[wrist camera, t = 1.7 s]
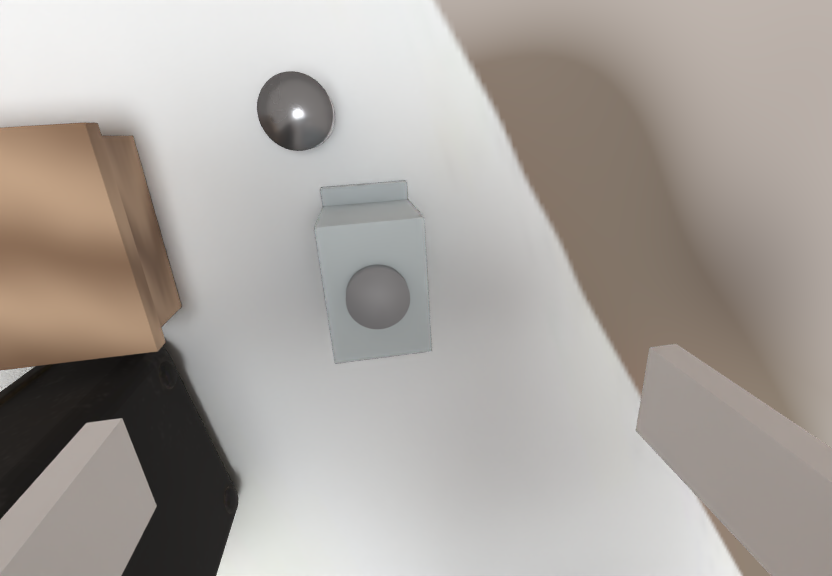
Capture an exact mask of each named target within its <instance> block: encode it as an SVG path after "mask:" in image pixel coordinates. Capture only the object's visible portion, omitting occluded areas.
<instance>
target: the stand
mask: <svg viewBox="0 0 832 576" xmlns="http://www.w3.org/2000/svg"><path fill="white" fill-rule="evenodd" d="M181 307H182V306H181V302H180V299H179V295H178V292H177V288H176V285H175V281H174V278H173V274H172V271H171V267H170V264H169V260H168V257H167V253H166V250H165V246H164V243H163V239H162V236H161V232H160V229H159V225H158V222H157V218H156V215H155V211H154V208H153V204H152V201H151V197H150V194H149V190H148V187H147V183H146V179H145V176H144V172H143V169H142V165H141V162H140V158H139V155H138V151H137V148H136V144H135V141H134V137H133V136H102V135H101V132H100V128H99V125H98V123H70V124H53V125H37V126H21V127H5V128H0V370H7V369H16V368H24V367H32V366H41V365H49V364H57V363H66V362H74V361H82V360H90V359H99V358H107V357H115V356H124V355H132V354H140V353H149V352H157V351H159V349H160V348H161V347H162V346H163V345H164V344H165V343H166V342H165V338H164V335H163V332H162V329H161V327H162V326H163V325H164V324H165V323H166V322H167V321H168V320H169V319H170V318H171V317H172V316H173V315H174V314H175V313H176V312H177V311H178V310H179V309H180V308H181Z"/></svg>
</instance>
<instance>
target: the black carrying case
mask: <svg viewBox="0 0 832 576" xmlns="http://www.w3.org/2000/svg"><path fill="white" fill-rule="evenodd" d="M119 418H122V419H123V421H124V424H125V426H126V429H127V431H128V434H129V437H130V439H131V442H132V444H133V447H134V449H135V452H136V454H137V457H138V460H139V462H140V465H141V467H142V470H143V472H144V475H145V477H146V480H147V482H148V485H149V488H150V490H151V493H152V495H153V498H154V500H155V503H156V505H157V507H156V509H155V511H154V513H153V515H152V517H151V518H150V520H149V522H148V524H147V526H146V528H145V530H144V532H143V534H142V536H141V538H140V540H139V542H138V544H137V546H136V548H135V550H134V552H133V554H132V556H131V558H130V560H129V562H128V564H127V566H126V568H125V569H124V571H123V573H122V575H121V576H216V575H217V571H218V568H219V565H220V562H221V558H222V555H223V552H224V549H225V545H226V542H227V539H228V536H229V532H230V529H231V526H232V523H233V519H234V516H235V513H236V510H237V506H238V495H237V492H236V490H235V488H234V486H233V484H232V482H231V480H230V478H229V476H228V474H227V472H226V470H225V468H224V466H223V464H222V461H221V459H220V457H219V455H218V453H217V451H216V449H215V447H214V445H213V443H212V441H211V439H210V437H209V435H208V433H207V431H206V429H205V427H204V425H203V423H202V421H201V419H200V417H199V415H198V413H197V411H196V409H195V407H194V405H193V402H192V400H191V398H190V396H189V394H188V392H187V390H186V388H185V386H184V384H183V382H182V380H181V378H180V376H179V374H178V372H177V370H176V368H175V366H174V364H173V362H172V360H171V358H170V356H169V354H168V352H167V351H166V350H165V349H164V347H163V346H162V347H161V348H160V349H159V351H157V352H149V353H140V354H132V355H124V356H115V357H107V358H99V359H90V360H82V361H74V362H66V363H57V364H49V365H41V366H35V367H34V368H33V369H31V370H30V371H28V372H27V373H26V374H24V375H23V376H22V377H20V378H19V379H18V380H16V381H15V382H13V383H12V384H11V385H9V386H8V387H7V388H5V389H4V390H2V391H1V392H0V519H1V518H2V517H3V516H4V515H5V514H6V513H7V512H8V510H9V509H10V508H11V507H12V506H13V505H14V504H15V503H16V501H17V500H18V499H19V498H20V497H21V496H22V495H23V494H24V492H25V491H26V490H27V489H28V488H29V487H30V486H31V485H32V483H33V482H34V481H35V480H36V479H37V478H38V477H39V476H40V474H41V473H42V472H43V471H44V470H45V469H46V468H47V467H48V466H49V464H50V463H51V462H52V461H53V460H54V459H55V458H56V457H57V455H58V454H59V453H60V452H61V451H62V450H63V449H64V448H65V446H66V445H67V444H68V443H69V442H70V441H71V440H72V439H73V437H74V436H75V435H76V434H77V433H78V432H79V431H80V430H81V428H82V427H83V426H84V425H85V424H86V423H89V422H97V421H104V420H112V419H119Z"/></svg>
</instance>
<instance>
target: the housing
mask: <svg viewBox="0 0 832 576" xmlns="http://www.w3.org/2000/svg"><path fill="white" fill-rule="evenodd" d="M320 190H321V197H322V204H323V208H322V210H321V212H320V215H319V217H318V220H317V222H316V225H315V227H314V230H315V236H316V243H317V249H318V256H319V263H320V269H321V276H322V282H323V289H324V295H325V302H326V308H327V315H328V322H329V328H330V335H331V341H332V348H333V354H334V361H335V364H337V363H345V362H352V361H360V360H368V359H376V358H383V357H391V356H399V355H407V354H414V353H422V352H430V351H432V344H431V327H430V309H429V292H428V275H427V258H426V241H425V223H424V217H423V216H422V215H421V213H420V212H419V211H418V210H417V209H416V208H415V207H414V205H413V204H412V203H411V202H410V201H409V200H408V192H407V182H406V181H405V180H404V181H392V182H380V183H368V184H355V185H343V186H331V187H321V189H320Z"/></svg>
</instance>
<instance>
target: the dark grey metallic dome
mask: <svg viewBox="0 0 832 576" xmlns="http://www.w3.org/2000/svg"><path fill="white" fill-rule="evenodd" d="M257 112H258V117H259V121H260V124H261V126H262V128H263V130H264V131H265V133H266V134H267V135H268V136H269V138H270V139H272V140H273V141H274V142H275V143H277V144H278V145H280V146H282V147H284V148H286V149H290V150H295V151H302V150H308V149H311V148H314V147H317V146H319V145H321V144H322V143H323V142H325V141H326V140H327V139H328V137H329V136H330V134H331V132H332V130H333V127H334V123H335V112H334V108H333V104H332V102H331V100H330V98H329V96H328V95H327V93H326V91H325V90H324V89H323V87H322V86H321V85H320V84H319V83H318V82H317V81H316V80H314V79H313V78H311V77H310V76H308V75H305V74H303V73H299V72H283V73H279V74H277V75H275V76H273V77H272V78H270V79H269V80H268V81H267V82H266V83H265V85H264V86H263V88H262V89H261V91H260V94H259V97H258V102H257Z"/></svg>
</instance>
